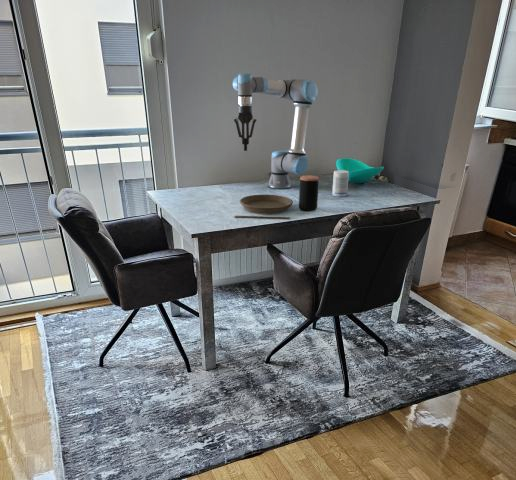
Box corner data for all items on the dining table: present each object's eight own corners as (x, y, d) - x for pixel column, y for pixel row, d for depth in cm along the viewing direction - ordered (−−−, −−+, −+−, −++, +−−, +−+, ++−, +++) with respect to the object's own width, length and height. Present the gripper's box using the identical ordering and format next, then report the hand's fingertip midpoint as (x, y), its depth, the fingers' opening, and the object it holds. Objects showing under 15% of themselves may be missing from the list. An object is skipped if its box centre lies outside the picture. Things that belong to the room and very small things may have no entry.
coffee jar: (318, 207, 276) (320, 176, 267) (314, 212, 267) (316, 179, 258) (301, 206, 279) (302, 174, 270) (296, 210, 270) (298, 178, 261)
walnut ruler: (234, 217, 258) (234, 216, 258) (235, 216, 261) (235, 215, 260) (289, 219, 256) (289, 218, 256) (289, 218, 258) (289, 217, 258)
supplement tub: (349, 195, 301) (352, 171, 293) (338, 197, 296) (341, 173, 289) (339, 192, 308) (341, 169, 300) (328, 194, 303) (330, 171, 296)
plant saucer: (295, 202, 286) (296, 195, 283) (288, 217, 260) (289, 208, 257) (246, 200, 291) (246, 192, 288) (234, 213, 265) (234, 205, 262)
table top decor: (325, 179, 343) (326, 160, 336) (355, 175, 355) (357, 156, 348) (359, 190, 314) (362, 169, 307) (391, 186, 325) (394, 165, 318)
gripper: (232, 105, 258) (233, 151, 270) (256, 105, 257) (256, 151, 269) (234, 104, 264) (235, 149, 277) (257, 104, 263) (257, 149, 276)
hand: (245, 150), depth 273 cm, fingers closed
